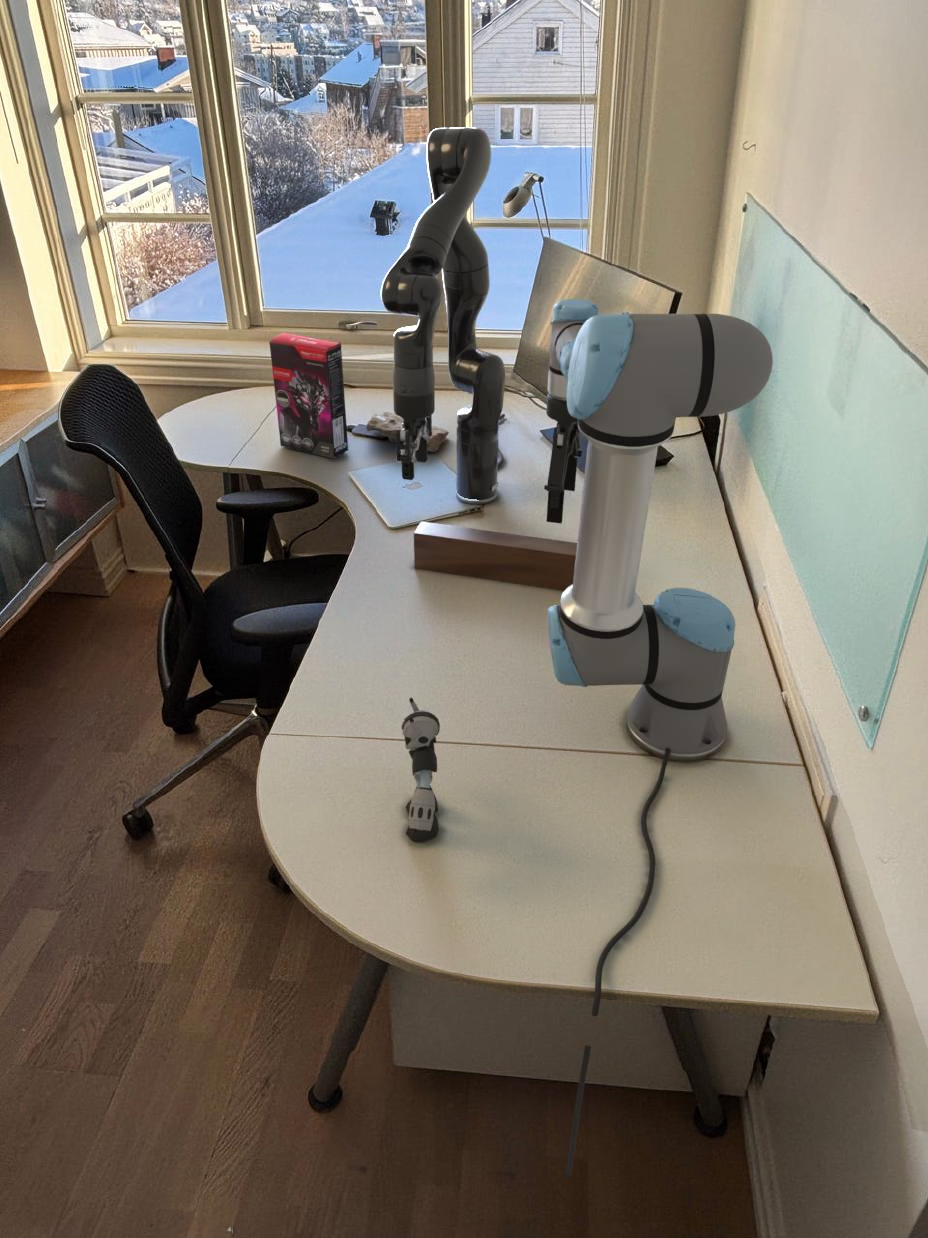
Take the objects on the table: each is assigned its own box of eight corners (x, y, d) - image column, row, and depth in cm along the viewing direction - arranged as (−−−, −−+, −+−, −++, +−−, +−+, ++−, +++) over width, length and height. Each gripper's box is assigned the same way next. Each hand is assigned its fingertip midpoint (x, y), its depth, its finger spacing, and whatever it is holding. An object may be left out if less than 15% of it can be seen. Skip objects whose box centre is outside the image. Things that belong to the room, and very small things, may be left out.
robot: (442, 875, 119) (441, 760, 108) (404, 877, 119) (400, 761, 107) (438, 770, 135) (437, 660, 124) (405, 771, 135) (401, 661, 124)
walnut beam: (573, 592, 177) (576, 555, 172) (414, 568, 183) (413, 532, 179) (577, 578, 181) (581, 543, 176) (422, 556, 187) (421, 521, 183)
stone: (350, 435, 230) (355, 412, 228) (372, 427, 244) (376, 405, 241) (428, 460, 227) (434, 436, 224) (446, 450, 240) (451, 427, 238)
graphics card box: (278, 447, 232) (266, 338, 217) (294, 437, 237) (284, 331, 222) (334, 460, 225) (326, 350, 210) (350, 450, 230) (343, 341, 215)
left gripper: (421, 402, 161) (422, 487, 169) (444, 377, 172) (444, 457, 181) (381, 398, 162) (384, 482, 171) (406, 373, 174) (408, 453, 183)
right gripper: (579, 422, 147) (569, 539, 159) (601, 372, 167) (591, 479, 179) (533, 417, 149) (527, 533, 161) (560, 368, 169) (553, 474, 181)
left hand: (415, 469), depth 176 cm, fingers open, 8 cm apart
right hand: (561, 505), depth 170 cm, fingers open, 13 cm apart
